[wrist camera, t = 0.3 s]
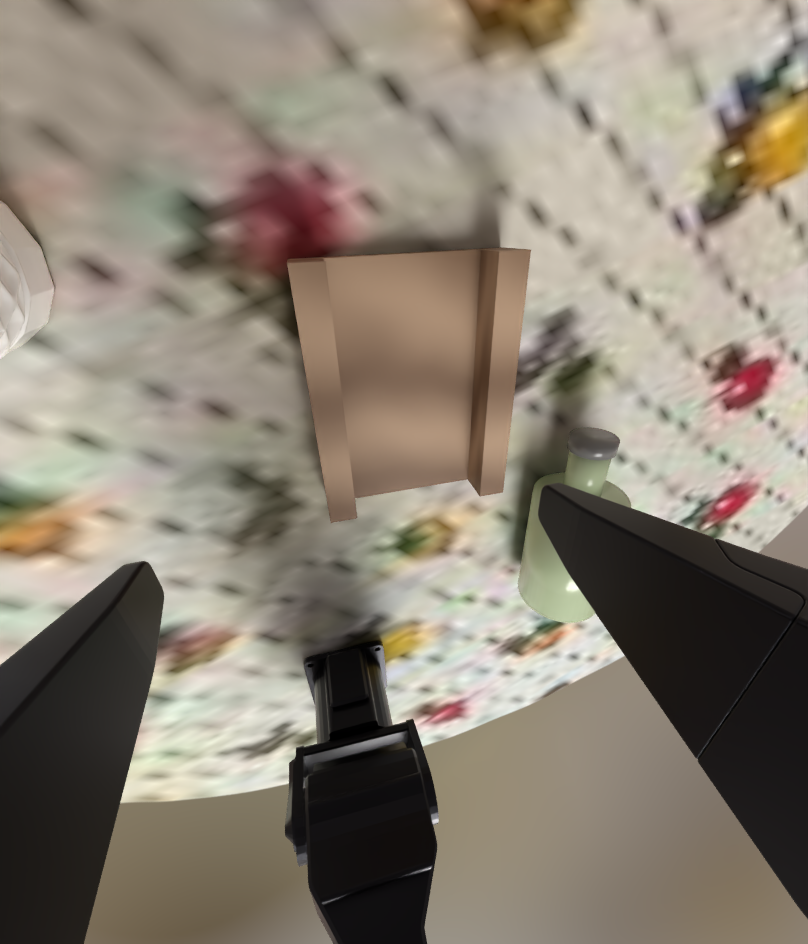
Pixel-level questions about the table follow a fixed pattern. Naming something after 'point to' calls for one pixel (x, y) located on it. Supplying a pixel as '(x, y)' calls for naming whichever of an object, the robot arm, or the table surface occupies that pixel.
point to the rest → (410, 367)
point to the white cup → (21, 284)
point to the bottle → (541, 565)
